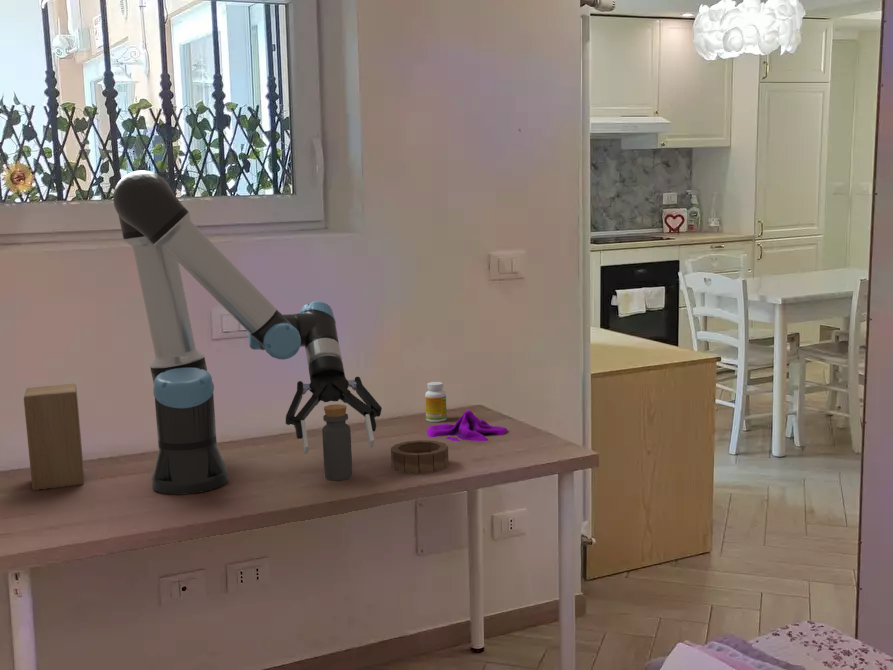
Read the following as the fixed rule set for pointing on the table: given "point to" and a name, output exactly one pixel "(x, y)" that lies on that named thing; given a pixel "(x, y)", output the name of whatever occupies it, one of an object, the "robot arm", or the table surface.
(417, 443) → the bead ring
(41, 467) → the wooden block
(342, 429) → the bottle
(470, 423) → the cloth
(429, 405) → the supplement bottle
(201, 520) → the table surface
